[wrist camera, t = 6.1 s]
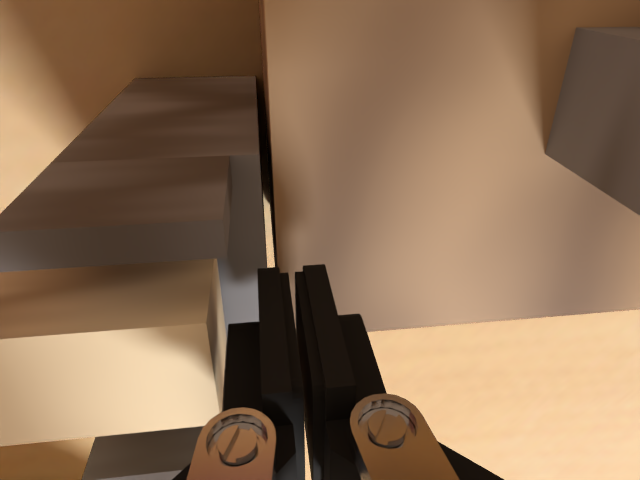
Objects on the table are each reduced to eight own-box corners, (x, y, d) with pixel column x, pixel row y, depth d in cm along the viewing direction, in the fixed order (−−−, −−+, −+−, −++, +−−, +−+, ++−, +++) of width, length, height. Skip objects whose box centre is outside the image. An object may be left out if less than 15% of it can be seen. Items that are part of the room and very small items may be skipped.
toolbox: (764, -72, 19) (1435, -117, 8) (651, 216, 25) (946, 402, 15) (105, -81, 16) (-178, -165, 5) (165, 245, 23) (88, 500, 12)
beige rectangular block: (215, 246, 12) (206, 323, 10) (226, 337, 14) (221, 424, 11) (-177, 270, 11) (-305, 362, 9) (-119, 365, 13) (-213, 468, 10)
